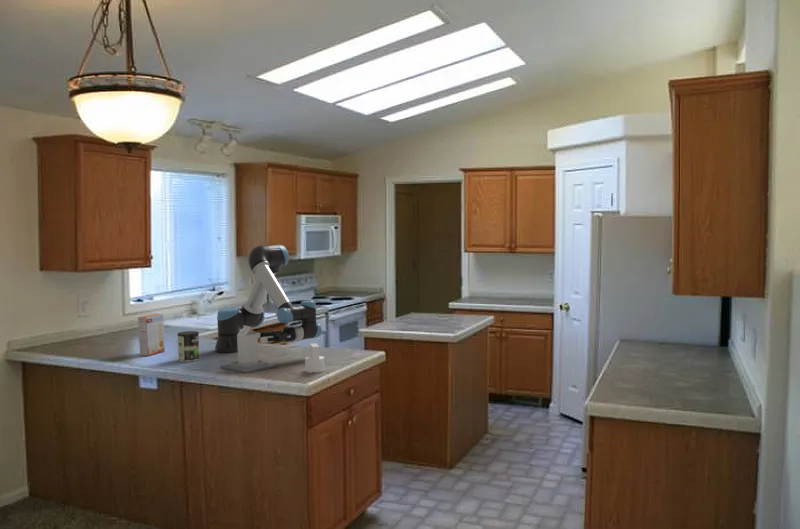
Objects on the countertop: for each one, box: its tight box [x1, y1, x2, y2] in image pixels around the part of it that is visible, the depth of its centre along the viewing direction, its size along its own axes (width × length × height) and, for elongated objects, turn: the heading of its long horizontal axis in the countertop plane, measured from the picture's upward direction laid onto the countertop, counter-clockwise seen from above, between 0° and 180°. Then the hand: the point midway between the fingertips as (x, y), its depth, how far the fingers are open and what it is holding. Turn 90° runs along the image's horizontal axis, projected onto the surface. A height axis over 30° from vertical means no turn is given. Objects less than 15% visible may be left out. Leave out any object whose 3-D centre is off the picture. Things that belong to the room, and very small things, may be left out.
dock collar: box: [229, 359, 268, 369], centre depth 321 cm, size 12×12×2 cm
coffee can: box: [177, 330, 200, 363], centre depth 340 cm, size 10×10×14 cm
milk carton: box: [237, 325, 259, 365], centre depth 320 cm, size 7×7×19 cm
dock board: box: [219, 362, 277, 374], centre depth 321 cm, size 20×18×1 cm
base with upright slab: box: [304, 343, 325, 374], centre depth 312 cm, size 9×9×12 cm
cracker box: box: [137, 313, 166, 357], centre depth 357 cm, size 14×6×21 cm, turn 163°
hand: (254, 338), depth 322 cm, fingers open, 13 cm apart
